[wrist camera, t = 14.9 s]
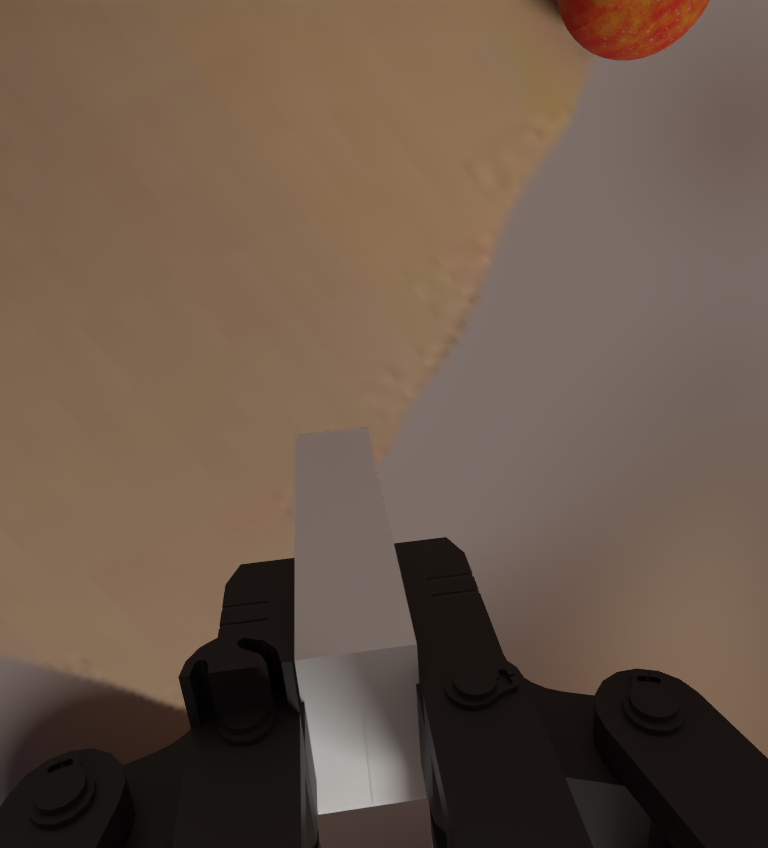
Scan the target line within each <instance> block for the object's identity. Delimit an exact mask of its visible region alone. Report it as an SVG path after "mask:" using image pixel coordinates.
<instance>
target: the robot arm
mask: <svg viewBox="0 0 768 848" xmlns="http://www.w3.org/2000/svg"><path fill="white" fill-rule="evenodd" d="M222 607H223V611H222V613H221V619H220V629H219V633H218V638H216V639H214V640H213V641H211V642H209V643H207V644H205V645H203V646H202V647H200V648H199V649H198V650H197V651H196V652H195V653H194V654H193V655H192V656H191V657H190V658H189V659H188V660H187V661H186V662H185V664H184V666H183V668H182V671H181V673H180V675H179V681H180V685H181V689H182V693H183V698H184V702H185V706H186V710H187V714H188V718H189V722H190V726H191V729H190V730H189V731H188V732H187V733H186V734H185V735H183V736H182V737H181V738H179V739H178V740H177V741H175V742H174V743H173V744H171V745H169V746H167V747H165V748H163V749H161V750H159V751H157V752H155V753H152V754H150V755H148V756H145V757H143V758H140V759H138V760H135V761H133V762H130V763H128V764H126V765H123V766H122V764H121V763H120V762H119V761H118V760H117V759H116V758H115V757H114V756H113V755H112V754H111V753H108V752H104V751H100V750H97V749H84V750H74V751H69V752H67V753H64V754H62V755H59V756H57V757H54V758H52V759H49V760H47V761H46V762H44V763H43V764H41V765H40V766H38V767H37V768H36V769H34V770H33V771H31V772H30V773H28V774H27V775H26V776H25V777H24V778H23V779H22V780H21V781H20V782H19V783H18V785H17V786H16V787H15V788H14V789H13V790H12V792H10V794H9V795H8V796H7V798H6V799H5V801H4V802H3V804H2V805H1V807H0V848H321V844H320V838H319V831H318V815H319V814H326V813H332V812H339V811H345V810H352V809H358V808H365V807H371V806H378V805H385V804H392V803H398V802H405V801H411V800H418V799H425V798H426V792H427V797H428V802H429V807H430V819H431V836H432V848H768V758H767V757H766V756H765V755H763V754H762V753H761V752H760V751H759V750H758V749H757V748H756V747H755V746H754V745H753V744H752V743H751V742H750V741H749V740H748V739H747V738H745V737H744V736H743V735H742V734H741V733H740V732H739V731H738V730H737V729H736V728H735V727H734V726H733V725H732V724H731V723H730V722H729V721H728V720H727V719H726V718H725V717H724V716H722V715H721V714H720V713H719V712H718V711H717V710H716V709H715V708H714V707H713V706H712V705H711V704H710V703H709V702H708V701H707V700H706V699H705V698H704V697H702V696H701V695H700V694H699V693H698V692H697V691H696V690H694V689H693V688H691V687H690V686H689V685H687V684H686V683H684V682H683V681H682V680H680V679H678V678H675V677H672V676H670V675H667V674H665V673H662V672H659V671H653V670H644V669H632V670H626V671H620V672H617V673H615V674H613V675H612V676H610V677H608V678H607V679H605V680H603V682H602V683H601V685H600V687H599V688H598V690H597V692H596V694H595V696H593V695H585V694H577V693H568V692H562V691H557V690H552V689H547V688H544V687H542V686H539V685H537V684H534V683H532V682H530V681H529V680H527V679H526V678H524V677H523V675H522V674H521V673H520V671H519V670H518V668H517V667H516V666H514V665H513V664H511V663H509V662H508V661H507V660H506V658H505V656H504V654H503V652H502V649H501V647H500V644H499V642H498V639H497V636H496V634H495V631H494V628H493V626H492V623H491V621H490V618H489V615H488V613H487V610H486V608H485V605H484V602H483V600H482V598H481V595H480V593H479V591H478V587H477V584H476V582H475V580H474V577H473V576H472V571H471V569H470V566H469V564H468V561H467V558H466V556H465V553H464V552H463V551H462V550H460V549H459V548H458V547H457V546H456V545H455V544H453V543H452V542H451V541H450V540H448V539H447V538H446V537H444V538H436V539H428V540H420V541H412V542H403V543H395V544H394V542H393V538H392V534H391V529H390V525H389V520H388V516H387V512H386V508H385V503H384V498H383V495H382V490H381V485H380V481H379V477H378V472H377V468H376V463H375V459H374V455H373V450H372V446H371V442H370V437H369V433H368V429H367V427H362V428H353V429H344V430H335V431H325V432H316V433H307V434H298V435H295V558H290V559H282V560H274V561H266V562H257V563H249V564H241V565H240V566H239V568H238V569H237V570H236V572H235V573H234V574H233V576H232V577H231V578H230V580H229V581H228V582H227V584H226V586H225V592H224V599H223V606H222ZM317 809H318V810H317Z"/></svg>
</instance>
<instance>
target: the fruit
mask: <svg viewBox="0 0 768 848" xmlns="http://www.w3.org/2000/svg"><path fill="white" fill-rule="evenodd" d="M709 1H710V0H557V2H558V8H559V11H560V14H561V17H562V20H563V22H564V24H565V26H566V28H567V30H568V31H569V32H570V34H571V35H572V36H573V38H574V39H575V40H576V41H577V42H578V43H579V44H580V45H581V46H582V47H583V48H585V49H587V50H588V51H590V52H591V53H593V54H595V55H598V56H600V57H603V58H607V59H612V60H634V59H640V58H644V57H647V56H650V55H652V54H655V53H657V52H659V51H661V50H663V49H665V48H667V47H668V46H670V45H671V44H672V43H674V42H675V41H677V40H678V39H679V38H680V37H682V36H683V35H684V34H685V33H686V32H687V31H688V30H689V29H690V28H691V27H692V26H693V25H694V24H695V22H696V21H697V20H698V18H699V17H700V16H701V14H702V13H703V12H704V10H705V8H706V6H707V5H708V3H709Z"/></svg>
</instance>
